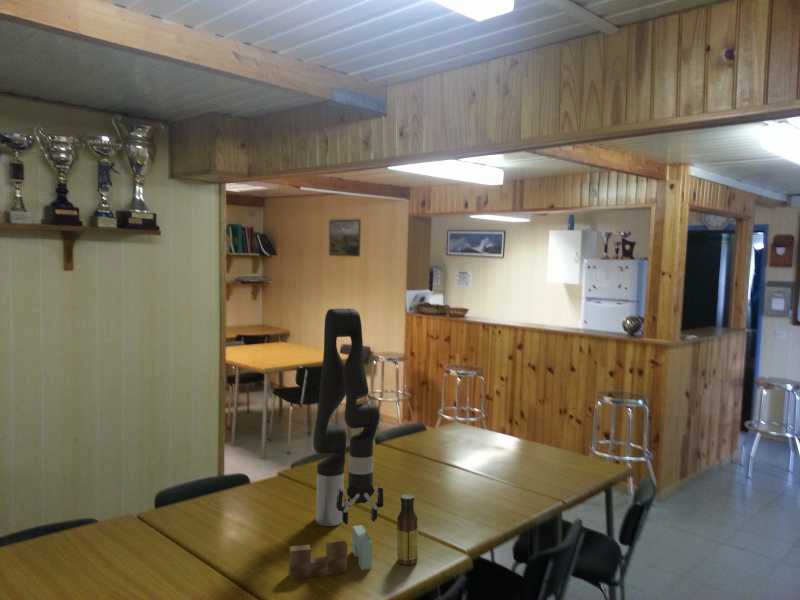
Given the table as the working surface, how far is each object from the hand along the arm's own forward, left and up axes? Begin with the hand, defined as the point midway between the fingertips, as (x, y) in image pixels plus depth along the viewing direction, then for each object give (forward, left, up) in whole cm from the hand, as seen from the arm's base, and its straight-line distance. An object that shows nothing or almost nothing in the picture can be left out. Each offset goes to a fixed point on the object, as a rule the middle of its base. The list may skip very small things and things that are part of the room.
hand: (359, 522), depth 185 cm
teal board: (+4, 0, -10) cm, 11 cm away
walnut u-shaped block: (+9, -14, -10) cm, 19 cm away
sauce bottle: (+8, +13, -10) cm, 18 cm away
